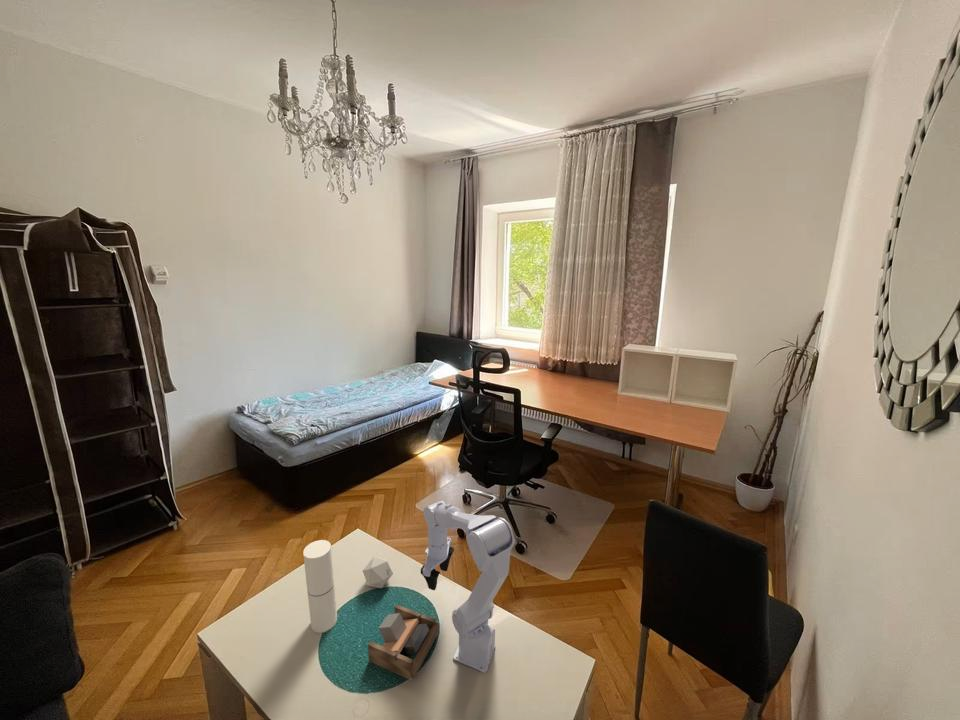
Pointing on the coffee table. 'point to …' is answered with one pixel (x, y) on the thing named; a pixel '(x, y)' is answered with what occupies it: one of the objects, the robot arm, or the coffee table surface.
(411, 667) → the frame
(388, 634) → the stone
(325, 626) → the cylindrical container
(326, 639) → the coffee table surface
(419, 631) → the trapdoor
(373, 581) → the die
